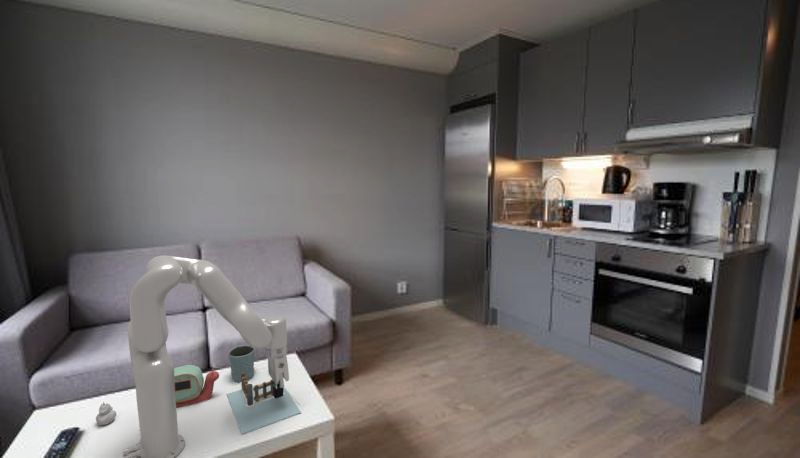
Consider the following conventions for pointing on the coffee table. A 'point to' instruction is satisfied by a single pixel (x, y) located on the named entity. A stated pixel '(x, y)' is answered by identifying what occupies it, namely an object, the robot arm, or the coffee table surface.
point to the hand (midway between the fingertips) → (278, 396)
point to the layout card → (261, 409)
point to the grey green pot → (242, 362)
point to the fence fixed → (247, 389)
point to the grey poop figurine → (105, 414)
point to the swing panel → (263, 390)
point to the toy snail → (192, 385)
